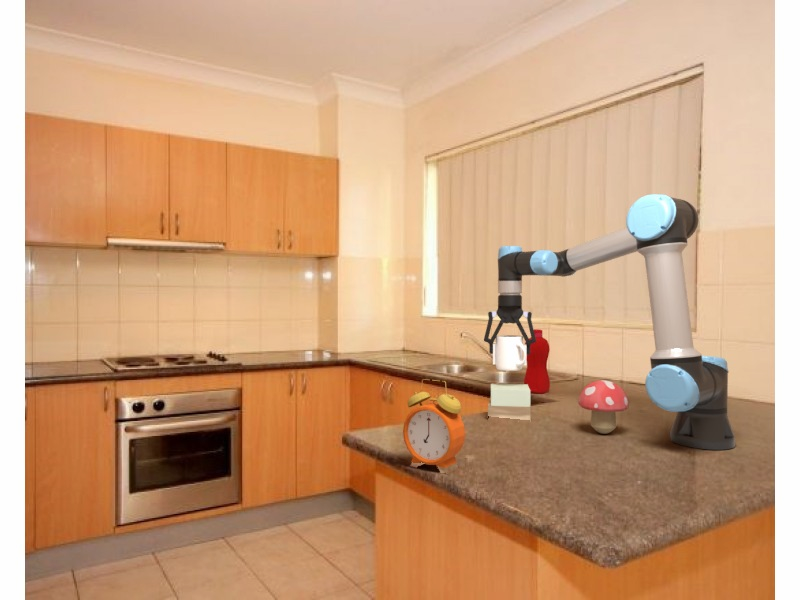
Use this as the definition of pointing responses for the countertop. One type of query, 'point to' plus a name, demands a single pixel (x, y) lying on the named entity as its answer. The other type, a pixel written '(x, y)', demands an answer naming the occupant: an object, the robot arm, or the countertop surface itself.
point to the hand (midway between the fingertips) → (509, 364)
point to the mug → (509, 352)
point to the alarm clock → (434, 429)
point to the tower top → (510, 395)
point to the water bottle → (538, 365)
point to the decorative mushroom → (603, 404)
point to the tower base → (509, 412)
